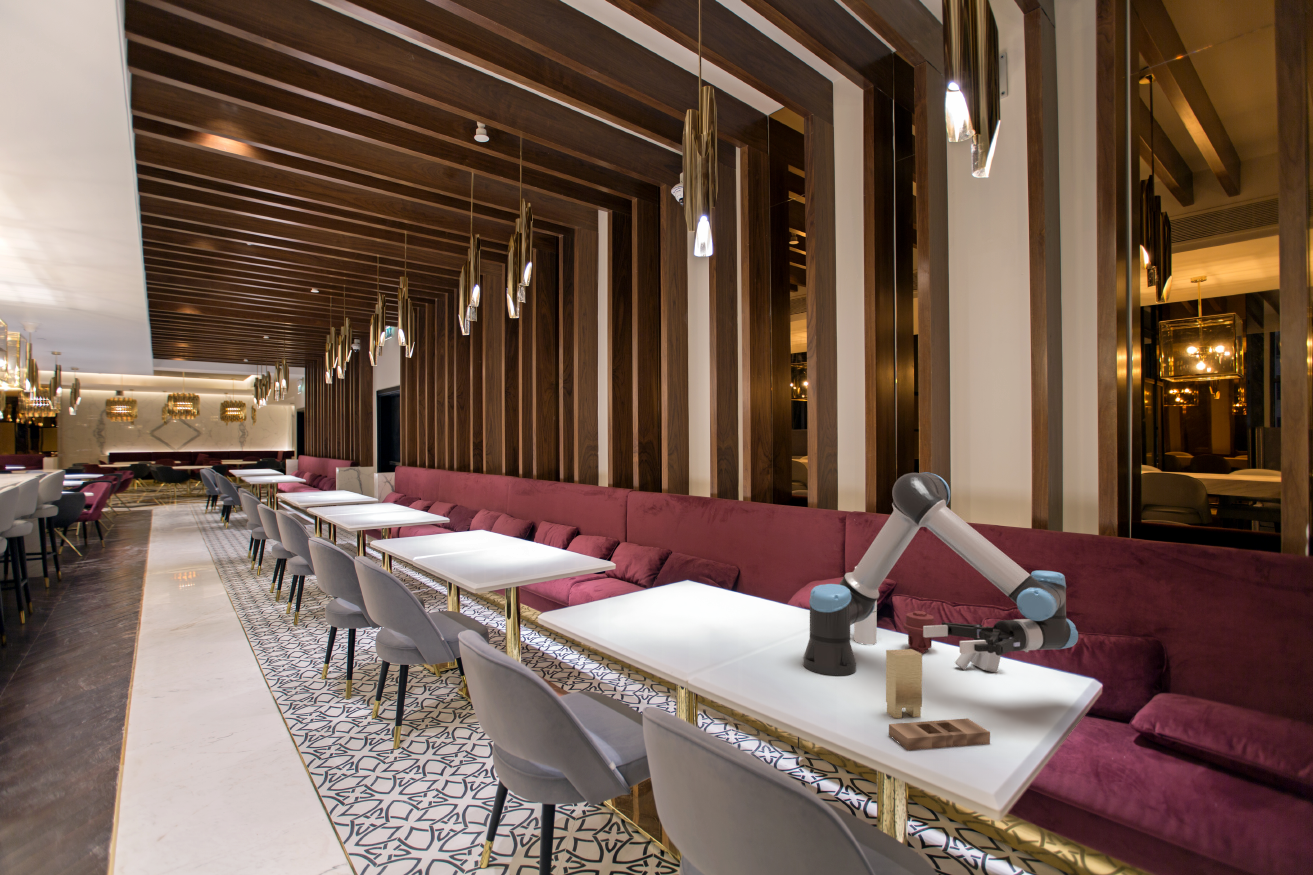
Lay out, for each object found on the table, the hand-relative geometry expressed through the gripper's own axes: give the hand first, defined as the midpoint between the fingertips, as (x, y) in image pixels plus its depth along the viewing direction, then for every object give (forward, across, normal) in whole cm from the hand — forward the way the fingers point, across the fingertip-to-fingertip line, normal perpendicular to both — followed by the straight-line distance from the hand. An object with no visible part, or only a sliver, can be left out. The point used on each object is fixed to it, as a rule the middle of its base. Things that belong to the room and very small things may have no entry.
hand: (941, 639), depth 148 cm
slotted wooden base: (+10, -12, -18) cm, 24 cm away
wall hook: (-31, +27, -18) cm, 45 cm away
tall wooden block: (+10, 0, -18) cm, 21 cm away
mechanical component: (-25, +46, -18) cm, 55 cm away
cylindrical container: (-12, +57, -18) cm, 61 cm away
